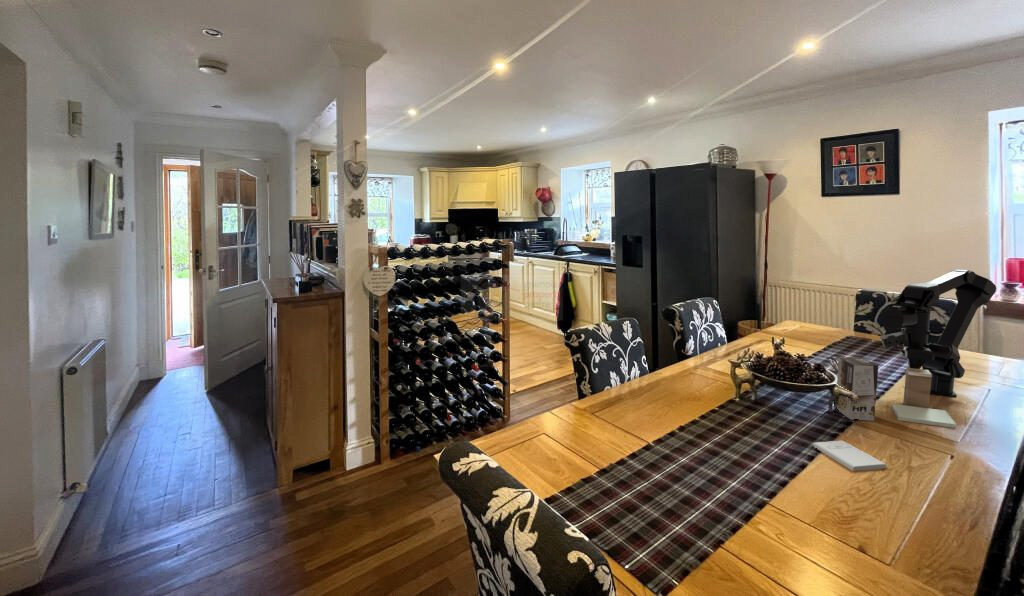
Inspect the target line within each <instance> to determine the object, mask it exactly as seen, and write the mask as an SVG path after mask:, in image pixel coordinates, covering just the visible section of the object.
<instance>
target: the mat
mask: <svg viewBox="0 0 1024 596" xmlns="http://www.w3.org/2000/svg"><path fill="white" fill-rule="evenodd" d="M891 408H892V410H893V412H894V415H895V417H896V418H897V420H898V421H903V422H904V421H905V422H909V423H910V422H912V423H918V424H923V425H932V426H940V427H945V428H954V429H957V424H956V422H955V420H953V418H952V417H951V416H950V414H949V413H948V411H947V410H944V409H935V408H930V407H929V408H922V407H914V406H906V405H904V404H896V403H892V404H891Z"/></svg>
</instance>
